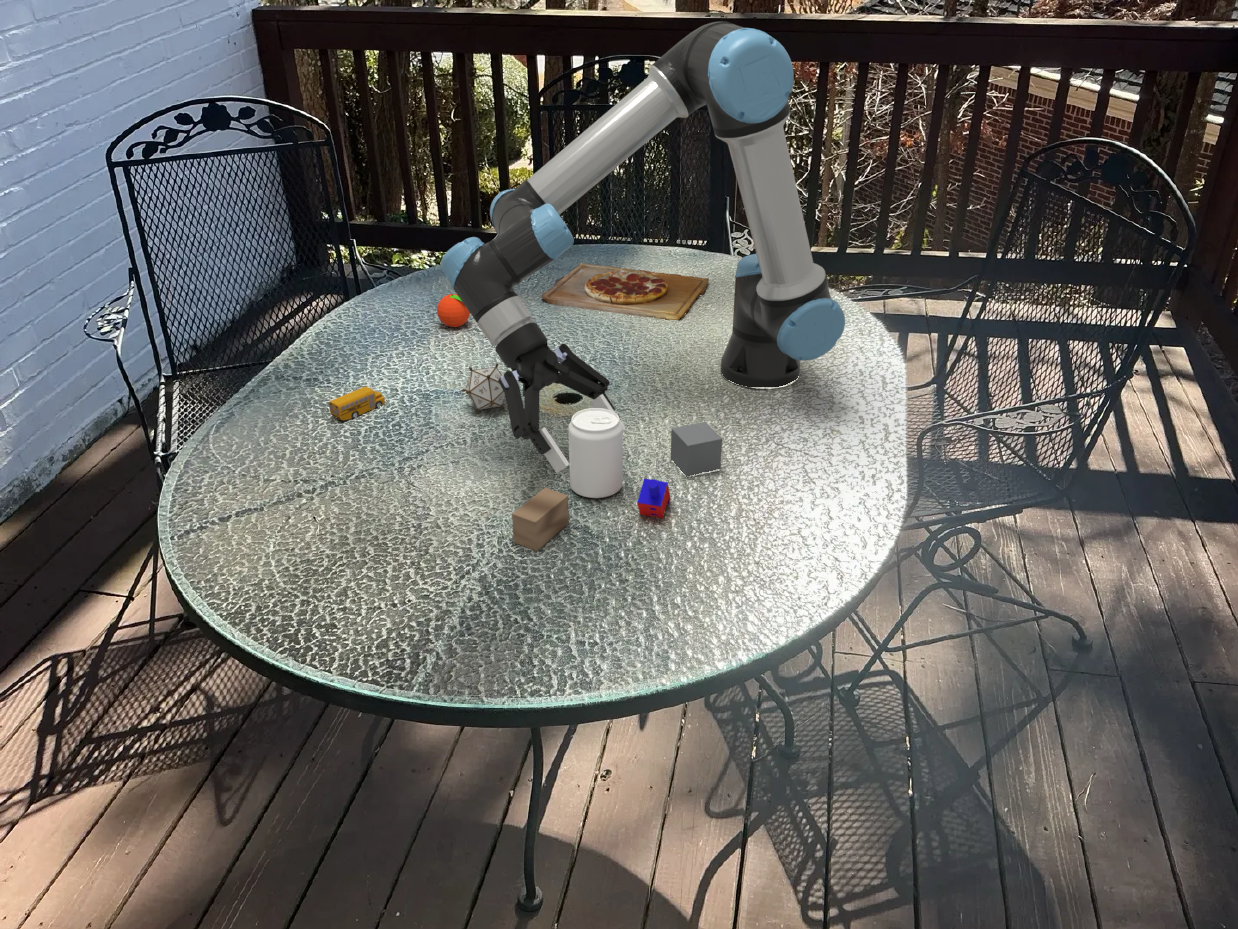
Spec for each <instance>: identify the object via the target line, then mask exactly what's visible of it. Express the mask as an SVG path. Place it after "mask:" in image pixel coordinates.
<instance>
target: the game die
mask: <svg viewBox="0 0 1238 929" xmlns="http://www.w3.org/2000/svg"><path fill="white" fill-rule="evenodd" d="M498 367H499V362H496V364H495V366H494V367H493V366H492V367H485V368H478V369H473V368H472V367H471V366H468V370H469V371H470V374H469V377H468V380H467V384H466V386H465V388H462V389H461V390H460V391H461V392H462V393H465V394H466V395H467V396H468V397H469V399H470V400H471V402H472V404H473V405H474V408H475V412H474V413H475V415H477V414H478V413H479V410H481V411H482V410H487V409H494V408H501V409H502V410H505V409H506V408H505V406H504V405H503V404H504V401H505V400H506V398H505V394H504V391H503V389H502V387H501V386H500V384H499V382H498V379H499V378H500V377H501V376H502V375H503V374H502V373H501V371H500V370H499V368H498Z"/></svg>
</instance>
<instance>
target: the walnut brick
mask: <svg viewBox="0 0 1238 929" xmlns="http://www.w3.org/2000/svg"><path fill="white" fill-rule="evenodd" d="M569 513H570V512H569V495H568V494H565V493H563V492H562V493H561V492H559V491H555V490H553V489H550V488H548V487H544V488H543V489H541V490H540V491H539V492H538V493H536V494H535V495H534V496H532V498H530V499H529V500H527V501H526V502H525V503H524V504H523V505H521V506H520V507H519V508H518V509H516V510H515V511H514V512H512V514H511V520H512V534H513V535H512V536H513V543H515V544H517V545H519V546H523V547H525V548H528V549H530V550H533V551H535V552H538V551H539V550H540V549H541V548H542V547H543V546H545V545H546V544H547V543H549V541H551V539H553V538H554V537H555V536H557V535H558V533H560V532H561V531H562V530H564V529H565V528H566V527H567V526H568V525H569V524H570V516H569V515H570V514H569Z"/></svg>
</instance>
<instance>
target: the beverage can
mask: <svg viewBox="0 0 1238 929" xmlns="http://www.w3.org/2000/svg"><path fill="white" fill-rule="evenodd" d="M619 419H620V417H619V415H618V413H617V412H616V411H614V412H613V411H611V410H608V409H603V408H593V407H591V408H589V407H588V408H585V409H581V410H579V411H577V412H575V413H574V414H573V415H572V416H571V421H570V423H569V424H568V427H567V428H568V429H567V430H568V458H569V460H568V462H569V485H570V488H571V490H572V491H573V492H575V494H577V495H579V496H582V497H585V498H590V499H591V498H592V499H601V498H602V499H603V498H607V497H610V496H612V495H614V494H616V493H618V492H619V491H620V490H621V489H622V486H623V457H624V456H623V454H624V453H623V448H624V447H623V446H624V445H623V444H624V443H623V431H624V430H623V427H622V423H623V422H622V421H621V422H622V423H621V422H620V420H621V419H620V420H619Z"/></svg>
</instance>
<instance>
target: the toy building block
mask: <svg viewBox="0 0 1238 929" xmlns="http://www.w3.org/2000/svg"><path fill="white" fill-rule="evenodd" d="M642 481H643V482H642V484H641V489H640V490H639V491H640V492H639V495H638V497H637V502H636V504H637V508H638V512H639V515H642V516H648V517H654V518H659V519H664V518H665V517H664V516H665V513H666V510H667V507H668V506H667V505H668V504H671V495H670V488H669V482H668V481H662V480H657V479H655V478H651V479H649V478H643V480H642Z"/></svg>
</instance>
